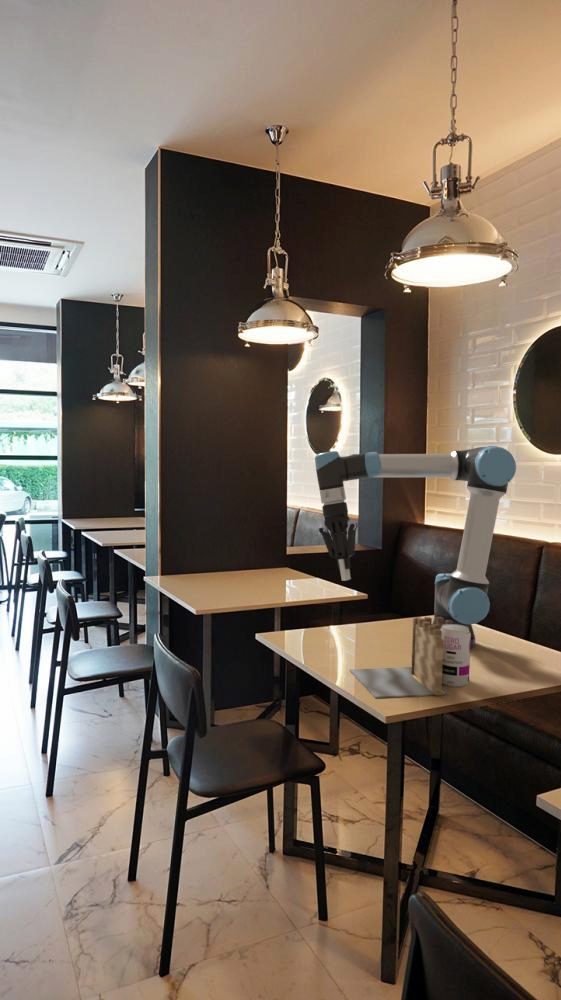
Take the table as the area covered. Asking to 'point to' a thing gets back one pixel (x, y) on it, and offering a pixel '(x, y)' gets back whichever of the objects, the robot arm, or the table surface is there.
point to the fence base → (398, 675)
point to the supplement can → (455, 655)
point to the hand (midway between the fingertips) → (346, 579)
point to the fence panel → (428, 656)
